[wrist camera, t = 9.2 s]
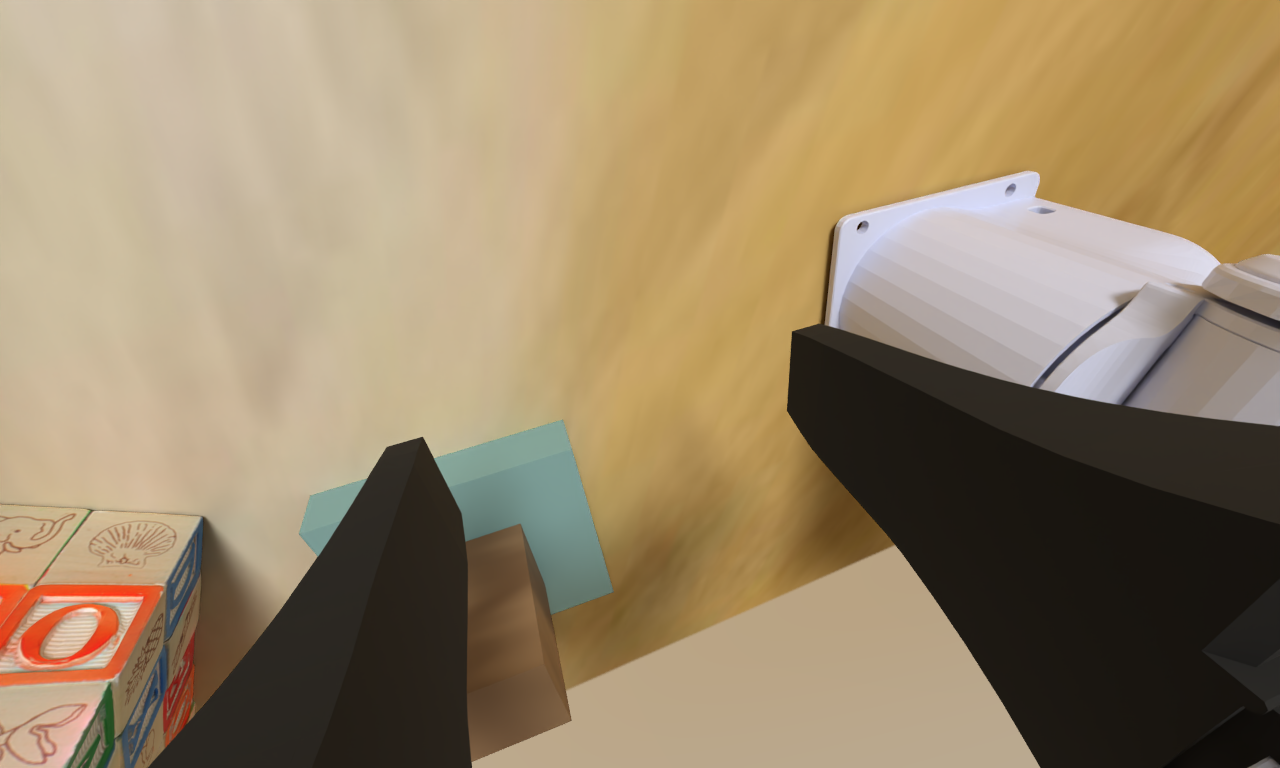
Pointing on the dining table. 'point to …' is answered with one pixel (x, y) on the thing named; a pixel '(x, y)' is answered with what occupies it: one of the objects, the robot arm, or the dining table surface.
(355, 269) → the dining table surface
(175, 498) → the dining table surface
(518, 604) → the walnut block
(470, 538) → the teal base
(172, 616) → the stack of blocks
